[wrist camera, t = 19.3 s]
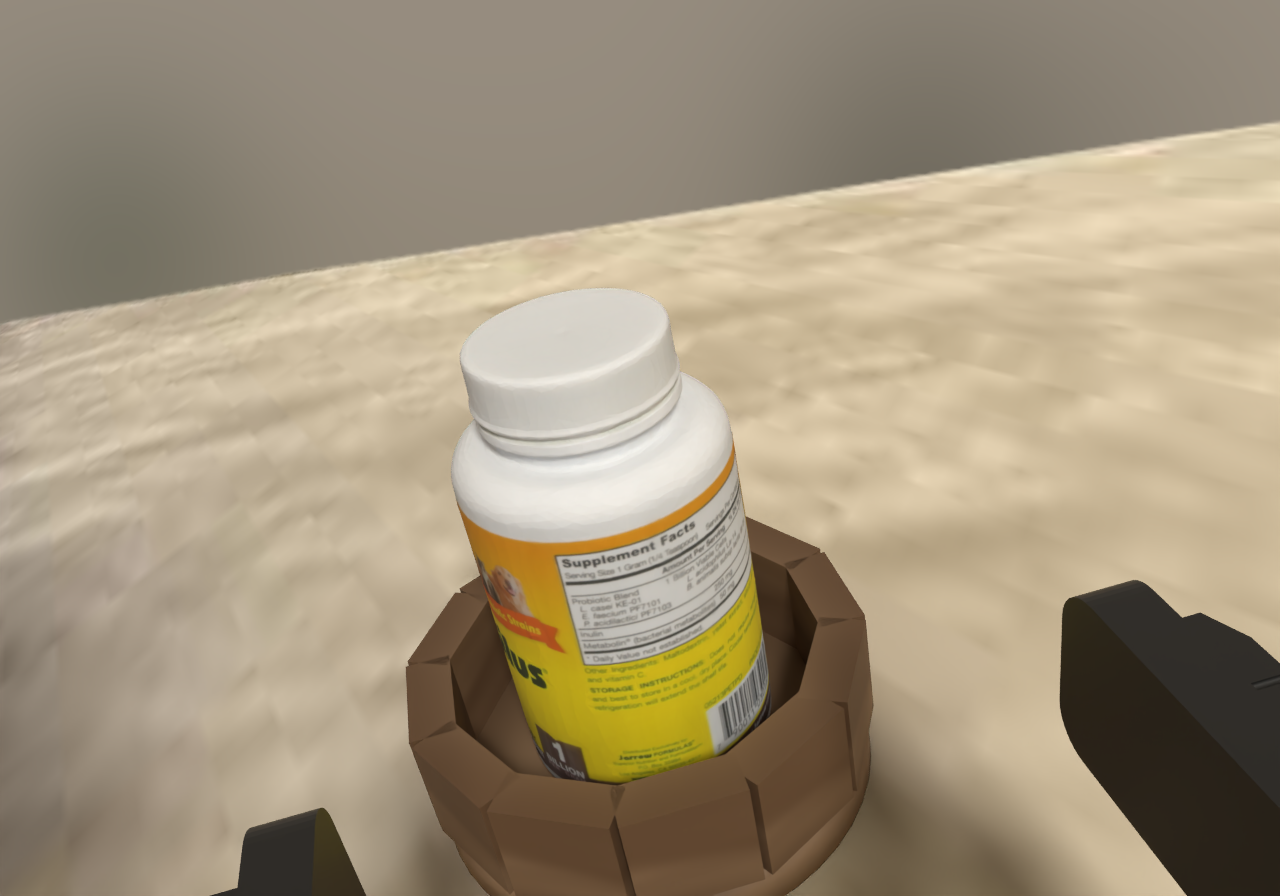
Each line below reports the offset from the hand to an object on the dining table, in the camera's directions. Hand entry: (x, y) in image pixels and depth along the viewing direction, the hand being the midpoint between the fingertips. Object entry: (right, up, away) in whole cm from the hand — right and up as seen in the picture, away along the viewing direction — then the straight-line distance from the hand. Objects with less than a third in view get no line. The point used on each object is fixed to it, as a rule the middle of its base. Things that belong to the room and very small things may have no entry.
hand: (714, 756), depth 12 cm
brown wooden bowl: (0, -4, +15) cm, 15 cm away
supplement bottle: (0, -3, +14) cm, 15 cm away
